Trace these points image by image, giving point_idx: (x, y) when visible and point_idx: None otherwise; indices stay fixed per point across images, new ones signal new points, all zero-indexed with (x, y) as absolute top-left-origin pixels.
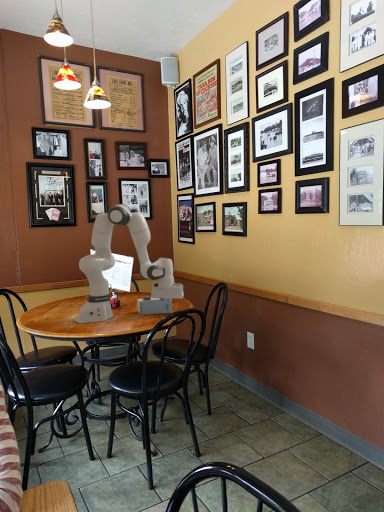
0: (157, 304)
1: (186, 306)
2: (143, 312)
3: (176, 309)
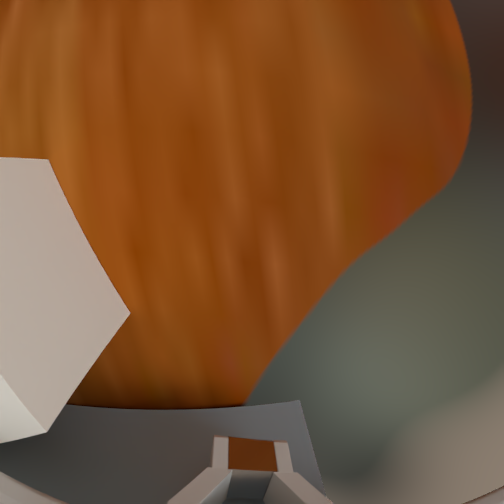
0: (101, 498)
1: (450, 77)
2: None
3: (345, 218)
